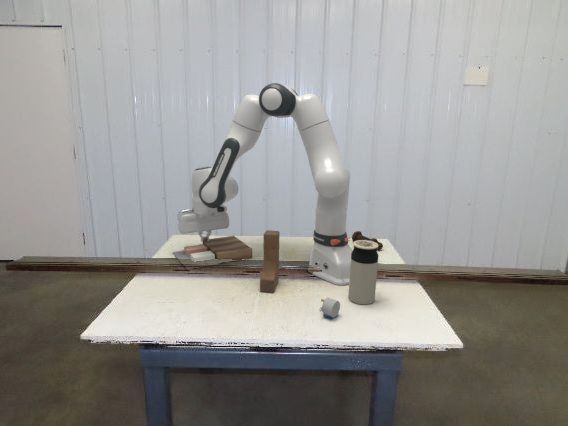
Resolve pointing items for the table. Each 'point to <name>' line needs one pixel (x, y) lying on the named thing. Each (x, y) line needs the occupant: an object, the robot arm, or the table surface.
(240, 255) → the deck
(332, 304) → the electric motor
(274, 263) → the wooden block
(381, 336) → the table surface
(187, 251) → the clay tile
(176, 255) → the mat
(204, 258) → the cream tile
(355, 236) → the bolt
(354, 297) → the travel mug
